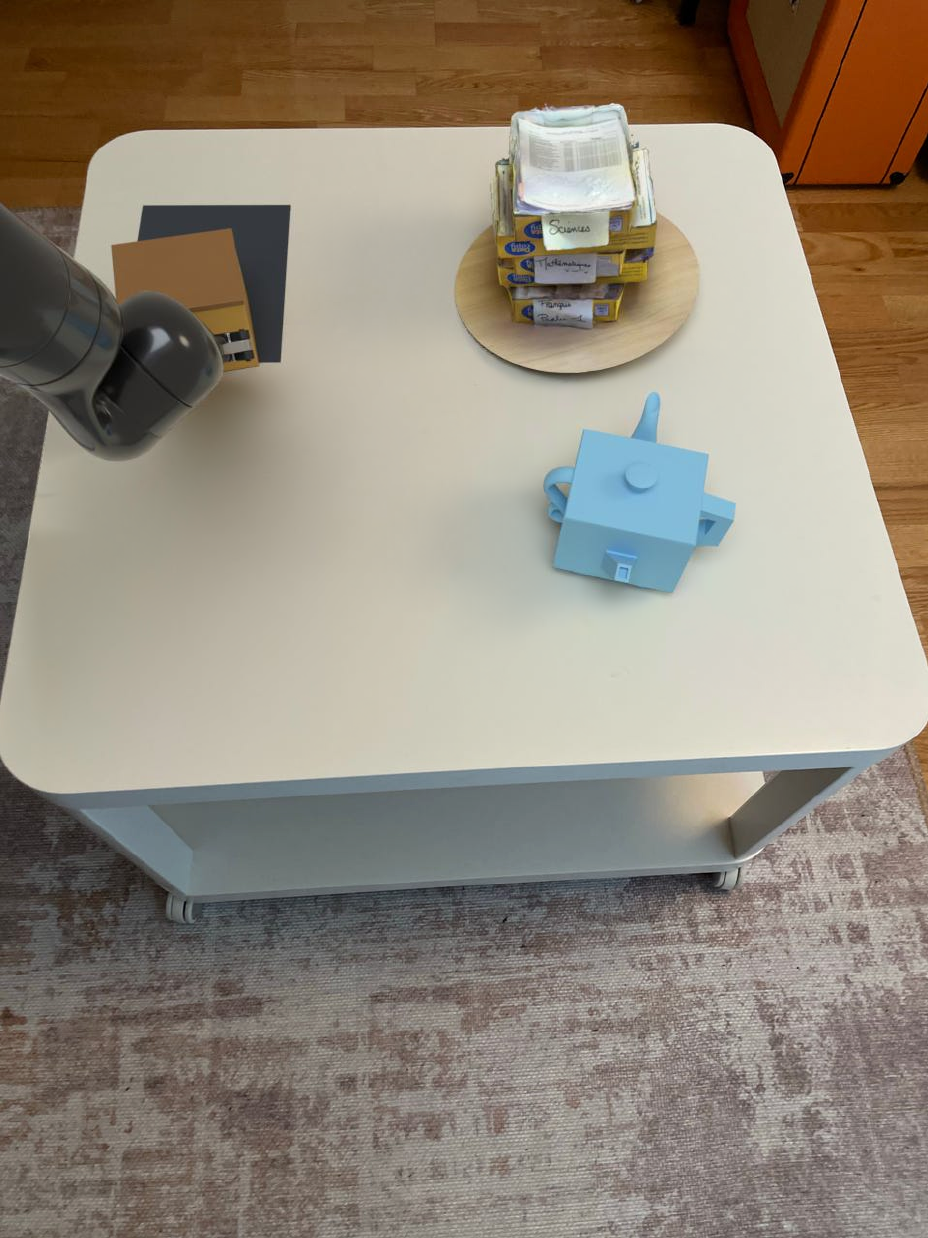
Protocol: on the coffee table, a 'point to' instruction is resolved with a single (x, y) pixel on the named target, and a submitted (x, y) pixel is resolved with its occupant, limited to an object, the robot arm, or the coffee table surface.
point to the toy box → (190, 279)
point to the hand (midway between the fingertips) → (189, 350)
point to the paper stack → (575, 248)
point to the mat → (240, 256)
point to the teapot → (634, 507)
